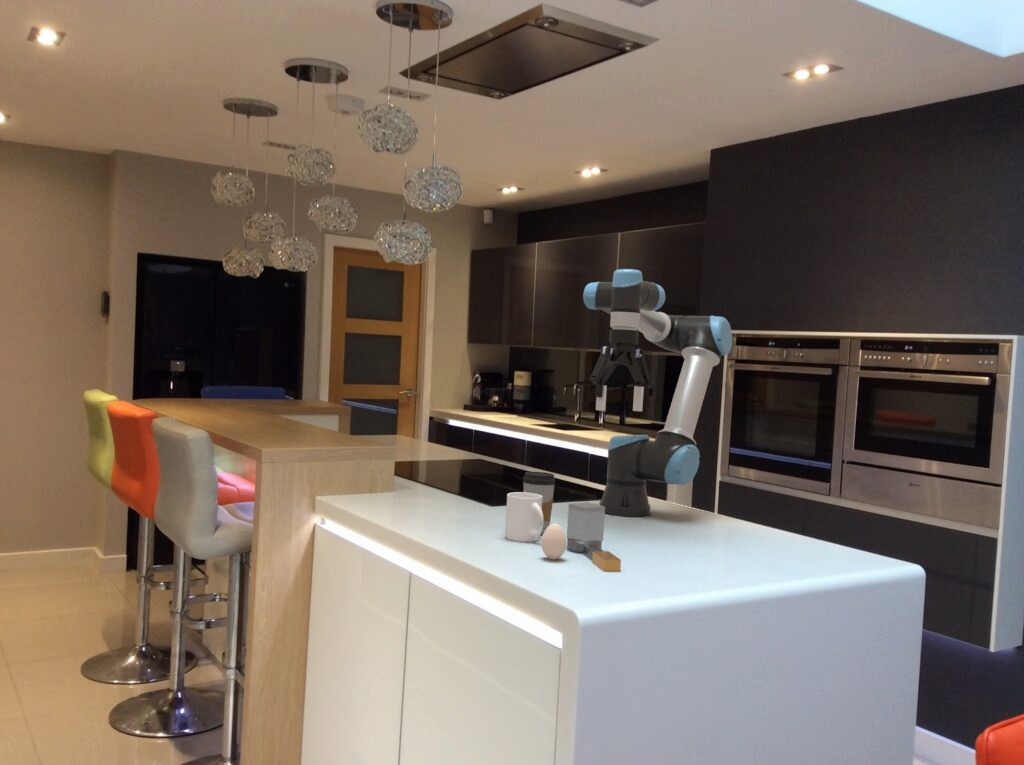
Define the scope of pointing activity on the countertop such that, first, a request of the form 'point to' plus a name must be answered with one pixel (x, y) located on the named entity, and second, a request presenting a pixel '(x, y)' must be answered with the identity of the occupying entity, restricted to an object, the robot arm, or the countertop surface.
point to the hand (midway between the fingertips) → (619, 410)
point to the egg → (554, 541)
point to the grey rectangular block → (585, 522)
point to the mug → (523, 517)
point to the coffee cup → (541, 492)
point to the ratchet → (595, 554)
